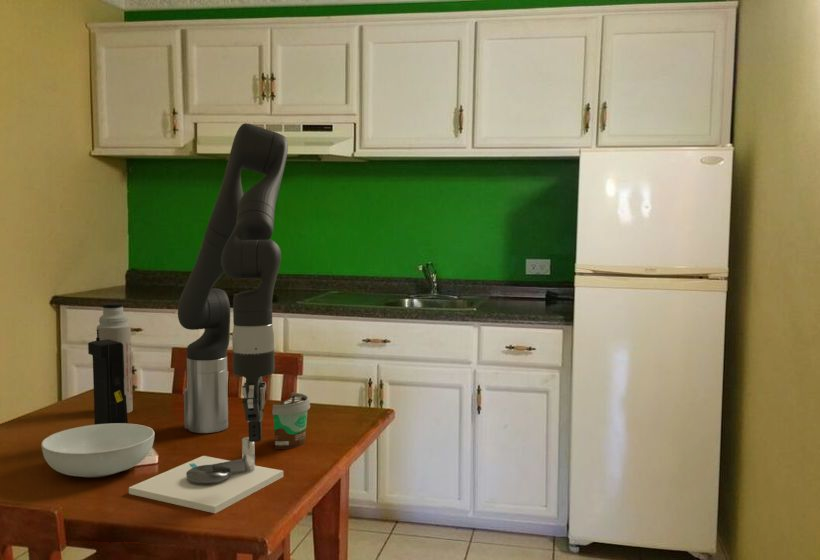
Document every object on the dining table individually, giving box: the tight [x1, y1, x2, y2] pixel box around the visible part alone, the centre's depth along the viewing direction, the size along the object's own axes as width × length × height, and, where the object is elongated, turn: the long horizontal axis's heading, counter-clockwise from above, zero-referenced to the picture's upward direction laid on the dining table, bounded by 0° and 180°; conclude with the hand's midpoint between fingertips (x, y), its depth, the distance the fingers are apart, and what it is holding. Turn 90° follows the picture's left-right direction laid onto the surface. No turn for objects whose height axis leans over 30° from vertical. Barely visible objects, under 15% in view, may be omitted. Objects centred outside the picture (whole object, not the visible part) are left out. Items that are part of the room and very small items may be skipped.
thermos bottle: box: [96, 302, 134, 414], centre depth 192 cm, size 8×8×28 cm
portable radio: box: [87, 329, 129, 425], centre depth 166 cm, size 8×6×25 cm
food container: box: [271, 392, 311, 450], centre depth 167 cm, size 12×6×10 cm, turn 168°
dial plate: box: [128, 455, 284, 514], centre depth 142 cm, size 20×20×1 cm
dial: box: [186, 436, 256, 484], centre depth 143 cm, size 13×8×6 cm, turn 124°
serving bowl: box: [40, 423, 155, 478], centre depth 150 cm, size 21×21×7 cm
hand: (255, 440), depth 139 cm, fingers closed
